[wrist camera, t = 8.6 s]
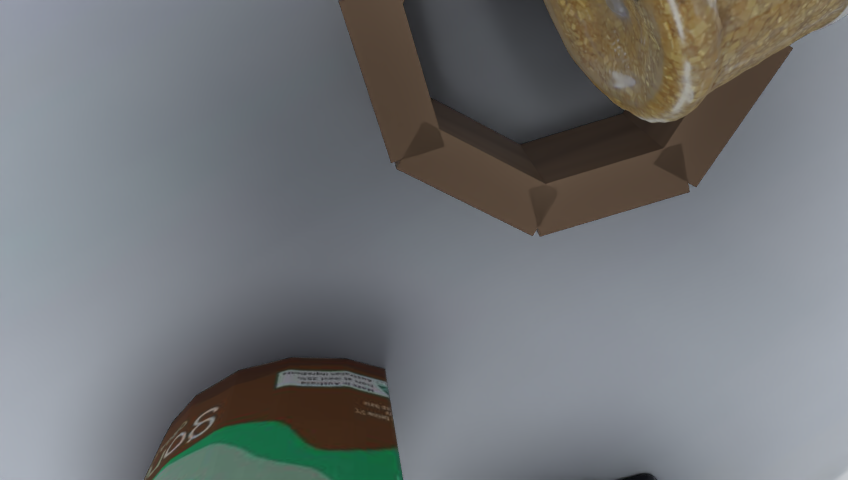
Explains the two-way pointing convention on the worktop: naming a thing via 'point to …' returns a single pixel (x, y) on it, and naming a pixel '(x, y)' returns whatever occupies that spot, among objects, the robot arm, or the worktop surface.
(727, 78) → the sprinkles bottle
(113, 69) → the worktop surface
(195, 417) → the food container
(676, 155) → the ring
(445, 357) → the worktop surface
